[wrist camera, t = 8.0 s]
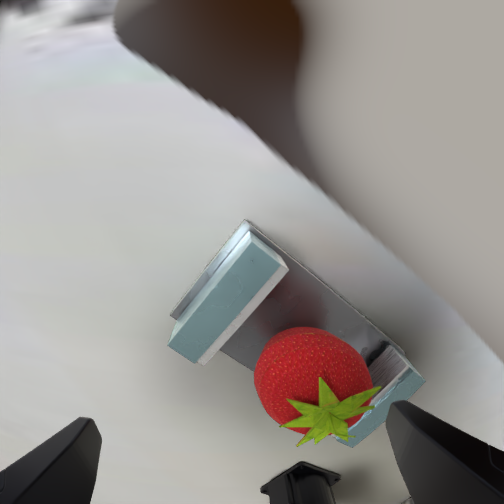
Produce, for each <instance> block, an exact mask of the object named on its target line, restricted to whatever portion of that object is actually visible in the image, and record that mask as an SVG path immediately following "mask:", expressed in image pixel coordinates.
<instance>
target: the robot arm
mask: <svg viewBox="0 0 504 504" xmlns="http://www.w3.org/2000/svg"><path fill="white" fill-rule="evenodd" d="M386 428H387V431H388V435H389V438H390V441H391V445H392V448H393V451H394V455H395V458H396V461H397V464H398V467H399V469H400V472H401V474H402V476H403V479H404V481H405V483H406V486H407V488H408V490H409V493H410V495H411V497H412V500H413V502H414V504H504V451H502V450H499V449H497V448H495V447H493V446H491V445H488V444H487V443H485V442H483V441H481V440H479V439H477V438H475V437H473V436H471V435H469V434H467V433H465V432H464V431H462V430H460V429H458V428H456V427H454V426H452V425H450V424H448V423H446V422H445V421H443V420H441V419H439V418H437V417H435V416H433V415H432V414H430V413H428V412H426V411H424V410H422V409H421V408H419V407H417V406H415V405H413V404H412V403H410V402H408V401H406V400H398V401H395V402H392V403H391V405H390V408H389V411H388V415H387V418H386ZM101 444H102V438H101V435H100V432H99V430H98V428H97V426H96V424H95V422H94V420H93V419H92V418H87V417H79V418H78V419H76V420H75V421H73V422H72V423H70V424H69V425H68V426H66V427H65V428H63V429H62V430H61V431H59V432H58V433H56V434H55V435H53V436H52V437H51V438H49V439H48V440H46V441H45V442H43V443H42V444H41V445H39V446H38V447H36V448H35V449H33V450H32V451H30V452H29V453H27V454H26V455H25V456H23V457H22V458H20V459H19V460H17V461H16V462H14V463H13V464H11V465H10V466H8V467H7V468H6V470H5V469H4V470H2V471H1V472H0V504H90V501H91V497H92V494H93V490H94V486H95V482H96V476H97V470H98V463H99V456H100V450H101ZM340 479H341V478H340V475H338V474H335V473H332V472H329V471H326V470H323V469H320V468H317V467H314V466H312V465H309V464H306V463H303V462H301V463H298V464H296V465H295V466H293V467H292V468H291V469H289V470H288V471H286V472H285V473H283V474H282V475H280V476H279V477H277V478H276V479H274V480H272V481H271V482H269V483H268V484H266V485H265V486H263V487H261V488H260V492H261V493H263V494H266V495H269V498H270V504H336V502H335V499H334V496H333V492H332V489H331V486H332V485H333V484H335V483H336V482H338V481H339V480H340Z"/></svg>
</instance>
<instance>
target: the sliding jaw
mask: <svg viewBox="0 0 504 504" xmlns="http://www.w3.org/2000/svg"><path fill="white" fill-rule="evenodd" d="M288 271H289V269H288V268H287V266H286V264H285V262H284V260H283V259H282V257H281V256H280V255H279V254H278V253H276V252H275V251H274V250H273V249H272V248H271V247H269V246H268V245H267V244H266V243H264V242H263V241H262V240H261V239H259V238H258V237H257V236H256V235H254V234H253V233H252V232H251V231H248V232H247V233H246V235H245V236H244V237H243V238H242V239H241V241H240V242H239V243H238V244H237V246H236V247H235V248H234V249H233V251H232V252H231V253H230V254H229V255H228V257H227V258H226V259H225V260H224V262H223V263H222V264H221V265H220V267H219V268H218V269H217V270H216V272H215V273H214V274H213V275H212V277H211V278H210V279H209V280H208V281H207V283H206V284H205V285H204V286H203V288H202V289H201V290H200V291H199V293H198V294H197V295H196V296H195V298H194V299H193V300H192V301H191V303H190V304H189V305H188V306H187V308H186V309H185V310H184V312H183V313H182V314H181V315H180V317H179V318H178V319H177V322H176V324H175V327H174V329H173V332H172V334H171V337H170V339H169V342H168V346H169V347H170V348H172V349H173V350H175V351H176V352H178V353H179V354H181V355H182V356H184V357H185V358H187V359H188V360H190V361H191V362H193V363H194V364H195V363H196V362H198V363H199V364H201V365H202V366H204V365H205V364H206V363H207V362H208V361H209V360H210V359H211V358H212V357H213V356H214V355H215V353H216V352H217V351H218V350H219V349H220V348H221V347H222V346H223V345H224V344H225V342H226V341H227V340H228V339H229V338H230V337H231V336H232V335H233V334H234V332H235V331H236V330H237V329H238V328H239V327H240V326H241V325H242V324H243V322H244V321H245V320H246V319H247V318H248V317H249V316H250V315H251V313H252V312H253V311H254V310H255V309H256V308H257V307H258V305H259V304H260V303H261V302H262V301H263V300H264V299H265V297H266V296H267V295H268V294H269V293H270V292H271V291H272V289H273V288H274V287H275V286H276V285H277V284H278V282H279V281H280V280H281V279H282V278H283V277H284V275H285V274H286V273H287V272H288Z"/></svg>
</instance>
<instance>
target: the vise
mask: <svg viewBox="0 0 504 504" xmlns="http://www.w3.org/2000/svg"><path fill="white" fill-rule="evenodd" d="M248 231H251V232H252V233H253V234H254V235H256V236H257V237H258V238H259V239H261V240H262V241H263V242H264V243H266V244H267V245H268V246H269V247H271V248H272V249H273V250H274V251H275V252H276V253H278V254H279V255H280V256H281V257H282V259H283V260H284V262H285V264H286V266H287V268H288V269H289V271H288V272H287V273H286V274H285V275H284V277H283V278H282V279H281V280H280V281H279V282H278V284H277V285H276V286H275V287H274V288H273V289H272V291H271V292H270V293H269V294H268V295H267V296H266V297H265V299H264V300H263V301H262V302H261V303H260V304H259V305H258V307H257V308H256V309H255V310H254V311H253V312H252V313H251V315H250V316H249V317H248V318H247V319H246V320H245V321H244V322H243V324H242V325H241V326H240V327H239V328H238V329H237V330H236V331H235V332H234V334H233V335H232V336H231V337H230V338H229V339H228V340H227V341H226V342H225V344H224V345H223V346H222V347H221V348H220V349H219V350H221V351H222V352H224V353H225V354H227V355H229V356H230V357H232V358H233V359H235V360H236V361H238V362H239V363H241V364H243V365H244V366H246V367H247V368H249V369H251V370H252V371H254V372H255V367H256V364H257V361H258V359H259V357H260V355H261V352H262V350H263V348H264V346H265V344H266V343H267V342H268V341H269V340H270V339H271V338H272V337H273V336H275V335H276V334H278V333H279V332H282V331H284V330H286V329H290V328H295V327H313V328H318V329H321V330H325V331H327V332H329V333H331V334H333V335H335V336H336V337H338V338H340V339H341V340H343V341H345V342H346V343H348V344H349V345H350V346H352V347H353V348H354V349H356V350H357V352H358V353H359V354H360V355H361V356H362V357H363V359H364V362H365V364H366V366H367V368H368V371H369V374H370V376H371V380H372V384H373V388H375V387H378V386H381V387H382V388H381V389H379V390H378V391H377V392H376V393H375V394H374V395H373V396H372V400H371V403H370V405H369V406H373V405H375V408H373V409H371V410H368V411H366V412H365V413H364V414H363V416H362V417H361V418H360V420H359V421H357V422H356V423H355V424H354V425H353V426H351V427H350V428H348V435H351V436H356V437H355V438H354V437H348V442H347V441H345V440H343V439H341V438H340V437H338V436H335V435H334V434H332V435H331V436H332V437H334V438H336V439H337V441H338V442H341V443H343V444H345V445H348V446H350V447H352V448H353V447H354V446H355V445H357V444H358V443H359V442H360V441H362V440H363V439H364V438H365V437H366V436H368V435H369V434H370V433H371V432H372V431H374V430H375V429H376V428H377V427H378V426H379V425H381V424H382V423H383V422H384V421H385V420H386V418H387V415H388V411H389V408H390V405H391V403H392V402H395V401H398V400H406V401H407V400H408V399H409V398H410V397H411V396H412V395H413V394H414V393H415V392H416V391H417V390H418V389H419V388H420V386H421V385H422V384H423V383H424V382H425V381H426V380H425V379H424V378H423V377H422V376H421V375H420V373H419V372H418V371H417V370H416V369H415V368H414V367H413V365H412V364H411V363H410V362H409V361H408V360H407V358H406V357H405V356H404V355H405V354H406V353H405V352H404V350H403V349H402V348H401V347H400V346H399V345H397V344H396V343H395V342H394V341H393V340H391V339H390V338H389V337H388V336H387V335H386V334H384V333H383V332H382V331H381V330H380V329H378V328H377V327H376V326H375V325H374V324H372V323H371V322H370V321H369V320H368V319H367V318H365V317H364V316H363V315H362V314H361V313H359V312H358V311H357V310H356V309H355V308H353V307H352V306H351V305H350V304H349V303H347V302H346V301H345V300H344V299H342V298H341V297H340V296H339V295H338V294H336V293H335V292H334V291H333V290H332V289H330V288H329V287H328V286H327V285H326V284H324V283H323V282H322V281H321V280H319V279H318V278H317V277H316V276H315V275H313V274H312V273H311V272H310V271H308V270H307V269H306V268H305V267H304V266H302V265H301V264H300V263H299V262H297V261H296V260H295V259H294V258H292V257H291V256H290V255H289V254H287V253H286V252H285V251H284V250H283V249H281V248H280V247H279V246H278V245H276V244H275V243H274V242H273V241H271V240H270V239H269V238H268V237H266V236H265V235H264V234H263V233H261V232H260V231H259V230H258V229H256V228H255V227H254V226H253V225H251V224H250V223H249V222H248V221H246V220H245V219H244V220H243V222H242V223H241V224H240V225H239V227H238V228H237V229H236V230H235V232H234V233H233V234H232V235H231V237H230V238H229V239H228V240H227V242H226V243H225V244H224V245H223V247H222V248H221V249H220V250H219V252H218V253H217V254H216V255H215V257H214V258H213V259H212V260H211V262H210V263H209V264H208V265H207V267H206V268H205V269H204V270H203V272H202V273H201V274H200V275H199V277H198V278H197V279H196V281H195V282H194V283H193V284H192V286H191V287H190V288H189V289H188V291H187V292H186V293H185V295H184V296H183V297H182V298H181V300H180V301H179V302H178V304H177V305H176V306H175V307H174V309H173V310H172V312H171V315H170V316H172V317H173V318H174V319H176V320H177V319H178V318H179V317H180V315H181V314H182V313H183V312H184V310H185V309H186V308H187V306H188V305H189V304H190V303H191V301H192V300H193V299H194V298H195V296H196V295H197V294H198V293H199V291H200V290H201V289H202V288H203V286H204V285H205V284H206V283H207V281H208V280H209V279H210V278H211V277H212V275H213V274H214V273H215V272H216V270H217V269H218V268H219V267H220V265H221V264H222V263H223V262H224V260H225V259H226V258H227V257H228V255H229V254H230V253H231V252H232V251H233V249H234V248H235V247H236V246H237V244H238V243H239V242H240V241H241V239H242V238H243V237H244V236H245V235H246V233H247V232H248Z"/></svg>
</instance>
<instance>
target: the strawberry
mask: <svg viewBox="0 0 504 504" xmlns="http://www.w3.org/2000/svg"><path fill="white" fill-rule="evenodd" d="M254 384H255V387H256V391H257V394H258V396H259V398H260V400H261V403H262V405H263V406H264V408H265V410H266V412H267V413H268V414H269V415H270V416H271V417H272V418H273V419H274V420H275V421H276V422H278V423H279V424H280V425H281V426H279V427H286V428H288V429H290V430H293V431H296V432H299V433H302V434H305V436H304V437H303V438H302V439H301V440H300V442H299V443H298V444H297V445H296V446H297V447H298V446H299V445H301V444H303V443H305V442H307V441H309V440H311V439H313V438H314V440H315V444H316V443H318V442H319V441H320V440H322V439H323V438H324V437H326V436H327V435H332V434H334V435H335V436H338V437H340V438H341V439H343V440H345V441H347V442H348V437H354V438H355V437H356V436H351V435H348V428H350V427H351V426H353V425H354V424H355V423H356V422H357V421H359V420H360V418H361V417H362V416H363V414H364V413H365V412H366V411H368V410H371V409H373V408H375V405H373V406H369V405H370V403H371V400H372V396H373V395H374V394H375V393H376V392H377V391H378V390H379V389H381V388H382V387H381V386H378V387H375V388H373V384H372V380H371V376H370V374H369V371H368V368H367V366H366V364H365V362H364V359H363V357H362V356H361V355H360V354H359V353H358V352H357V350H356V349H354V348H353V347H352V346H350V345H349V344H348V343H346V342H345V341H343V340H341V339H340V338H338V337H336V336H335V335H333V334H331V333H329V332H327V331H325V330H321V329H318V328H313V327H295V328H290V329H286V330H284V331H282V332H279V333H278V334H276V335H275V336H273V337H272V338H271V339H270V340H269V341H268V342H267V343H266V344H265V346H264V348H263V350H262V352H261V355H260V357H259V359H258V361H257V364H256V367H255V372H254Z"/></svg>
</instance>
